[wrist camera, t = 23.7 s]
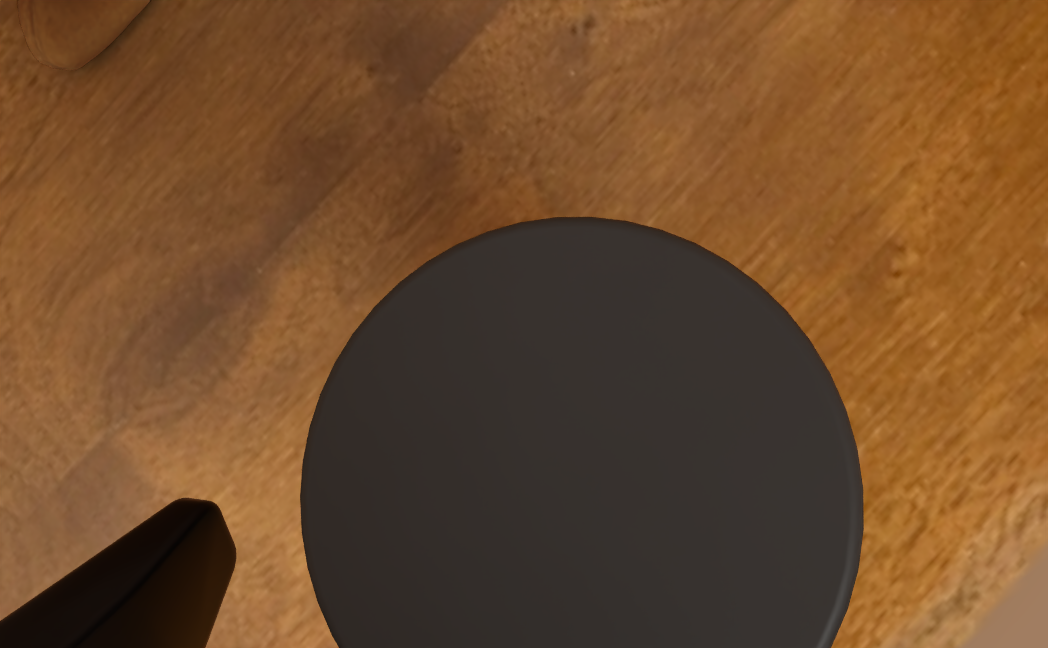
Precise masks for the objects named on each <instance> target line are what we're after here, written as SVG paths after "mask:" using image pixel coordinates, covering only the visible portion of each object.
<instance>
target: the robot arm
mask: <svg viewBox="0 0 1048 648" xmlns="http://www.w3.org/2000/svg"><path fill="white" fill-rule="evenodd" d="M235 563H236V548H235V544H234V542H233V540H232V537H231V535H230V532H229V530H228V527H227V525H226V522H225V520H224V518H223V515H222V513H221V510H220V508H219V507H218V506H217V505H216V504H215V503H214V502H212V501H207V500H200V499H193V498H181V499H178V500H175V501H173V502H172V503H170V504H169V505H167V506H166V507H164V508H163V509H161V510H160V511H159V512H157V513H156V514H154V515H153V516H151V517H150V518H148V519H147V520H146V521H144V522H143V523H141V524H140V525H138V526H137V527H135V528H134V529H133V530H131V531H130V532H128V533H127V534H125V535H124V536H122V537H121V538H120V539H118V540H117V541H115V542H114V543H112V544H111V545H109V546H108V547H107V548H105V549H104V550H102V551H101V552H99V553H98V554H96V555H95V556H94V557H92V558H91V559H89V560H88V561H86V562H85V563H83V564H82V565H81V566H79V567H78V568H76V569H75V570H73V571H72V572H70V573H69V574H68V575H66V576H65V577H63V578H62V579H60V580H59V581H57V582H56V583H55V584H53V585H52V586H50V587H49V588H47V589H46V590H44V591H43V592H42V593H40V594H39V595H37V596H36V597H34V598H33V599H31V600H30V601H28V602H27V603H26V604H24V605H23V606H21V607H20V608H18V609H17V610H15V611H14V612H13V613H11V614H10V615H8V616H7V617H5V618H4V619H2V620H1V621H0V648H205V647H206V645H207V642H208V639H209V636H210V634H211V631H212V628H213V626H214V623H215V620H216V617H217V615H218V612H219V609H220V607H221V604H222V601H223V598H224V596H225V593H226V590H227V587H228V585H229V582H230V579H231V577H232V574H233V571H234V568H235Z"/></svg>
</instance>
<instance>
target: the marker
mask: <svg viewBox="0 0 1048 648" xmlns="http://www.w3.org/2000/svg"><path fill="white" fill-rule="evenodd" d="M300 503H301V525H302V536H303V542H304V548H305V554H306V560H307V566H308V570H309V574H310V577H311V581H312V584H313V587H314V591H315V594H316V598H317V601H318V604H319V606H320V608H321V611H322V613H323V615H324V618H325V620H326V622H327V625H328V627H329V629H330V632H331V634H332V636H333V638H334V640H335V641H336V643H337V645H338V646H339V648H831V646H832V644H833V642H834V639H835V637H836V635H837V632H838V630H839V628H840V625H841V623H842V621H843V618H844V616H845V614H846V612H847V609H848V606H849V602H850V598H851V595H852V591H853V587H854V584H855V580H856V576H857V573H858V568H859V561H860V553H861V545H862V537H863V529H864V528H863V485H862V478H861V471H860V464H859V457H858V450H857V446H856V443H855V439H854V436H853V432H852V429H851V425H850V422H849V418H848V415H847V411H846V409H845V406H844V404H843V402H842V399H841V397H840V395H839V393H838V390H837V388H836V386H835V383H834V381H833V379H832V377H831V374H830V372H829V371H828V369H827V368H826V366H825V364H824V363H823V361H822V359H821V358H820V356H819V354H818V353H817V351H816V349H815V348H814V346H813V344H812V343H811V341H810V340H809V338H808V337H807V336H806V335H805V333H804V332H803V331H802V330H801V328H800V327H799V326H798V325H797V323H796V322H795V321H794V320H793V318H792V317H791V316H790V315H789V313H788V312H787V311H786V310H785V309H784V308H783V307H782V306H781V305H780V304H779V303H778V302H777V301H776V300H775V299H774V298H773V297H772V296H771V295H770V294H769V293H768V292H767V291H766V290H764V289H763V288H762V287H761V286H760V285H759V284H758V283H757V282H756V281H754V280H753V279H751V278H750V277H749V276H747V275H746V274H745V273H743V272H742V271H741V270H739V269H738V268H737V267H735V266H734V265H732V264H731V263H730V262H728V261H727V260H725V259H723V258H721V257H720V256H718V255H716V254H714V253H712V252H710V251H709V250H707V249H705V248H703V247H701V246H700V245H698V244H696V243H694V242H691V241H689V240H686V239H684V238H681V237H678V236H676V235H673V234H671V233H668V232H666V231H663V230H660V229H656V228H652V227H648V226H644V225H640V224H636V223H632V222H628V221H622V220H613V219H605V218H596V217H555V218H548V219H541V220H534V221H527V222H520V223H517V224H513V225H510V226H506V227H502V228H499V229H495V230H492V231H488V232H486V233H483V234H481V235H478V236H476V237H474V238H471V239H469V240H466V241H464V242H462V243H459V244H457V245H455V246H453V247H452V248H450V249H448V250H446V251H445V252H443V253H441V254H439V255H438V256H436V257H434V258H432V259H431V260H429V261H427V262H426V263H424V264H423V265H422V266H421V267H419V268H418V269H417V270H415V271H414V272H413V273H411V274H410V275H409V276H407V277H406V278H405V279H403V280H402V281H401V282H399V283H398V284H397V285H396V286H395V287H394V288H393V289H392V290H391V291H390V292H389V293H388V294H387V295H386V296H385V297H384V298H383V299H382V300H381V301H380V302H379V303H378V304H377V305H376V306H375V307H374V308H373V309H372V311H371V312H370V313H369V314H368V316H367V317H366V318H365V319H364V321H363V322H362V323H361V324H360V326H359V327H358V328H357V329H356V331H355V332H354V333H353V334H352V336H351V338H350V339H349V341H348V342H347V344H346V346H345V347H344V349H343V351H342V352H341V354H340V355H339V357H338V359H337V360H336V362H335V364H334V366H333V368H332V370H331V372H330V374H329V377H328V379H327V381H326V383H325V385H324V387H323V390H322V392H321V394H320V397H319V400H318V403H317V406H316V409H315V412H314V415H313V418H312V421H311V424H310V428H309V433H308V438H307V443H306V448H305V453H304V458H303V466H302V480H301V493H300Z"/></svg>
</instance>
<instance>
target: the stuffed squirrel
mask: <svg viewBox="0 0 1048 648" xmlns="http://www.w3.org/2000/svg"><path fill="white" fill-rule="evenodd" d="M150 1H151V0H18V13H19V19H20V25H21V28H22V30H23V33H24V36H25V39H26V42H27V45H28V47H29V49H30V51H31V52H32V54H33V55H34V57H35V58H36V59H37V60H38V61H39V62H41V63H42V64H44V65H47V66H50V67H52V68H56V69H68V70H76V69H79V68H81V67H83V66H84V65H85V64H86V63H88V62H89V61H91V60H92V59H93V58H95V57H96V56H97V55H98V54H99V53H101V52H102V51H103V50H104V49H105V48H106V47H108V46H109V45H110V44H111V43H112V42H113V41H114V40H115V39H116V38H117V37H118V36H119V35H120V34H121V33H122V32H123V31H124V30H125V28H126V27H127V26H128V25H129V24H130V23H131V22H132V20H133V19H134V18H135V17H136V16H137V15H138V14H139V13H140V12H141V11H142V10H143V9H144V8H145V6H146V5H147V4H148V3H149V2H150Z"/></svg>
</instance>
